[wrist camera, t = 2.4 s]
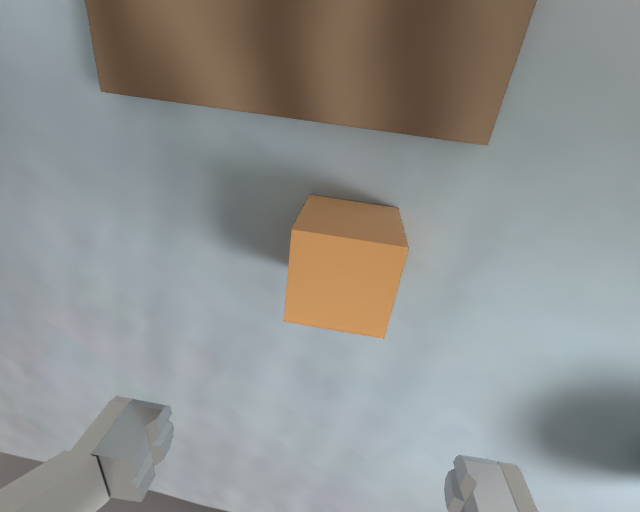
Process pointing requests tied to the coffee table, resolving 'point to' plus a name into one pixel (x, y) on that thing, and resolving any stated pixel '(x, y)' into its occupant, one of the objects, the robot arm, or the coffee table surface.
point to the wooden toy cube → (345, 265)
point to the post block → (319, 59)
